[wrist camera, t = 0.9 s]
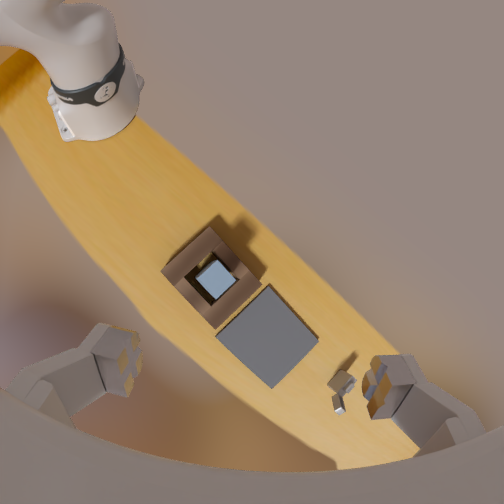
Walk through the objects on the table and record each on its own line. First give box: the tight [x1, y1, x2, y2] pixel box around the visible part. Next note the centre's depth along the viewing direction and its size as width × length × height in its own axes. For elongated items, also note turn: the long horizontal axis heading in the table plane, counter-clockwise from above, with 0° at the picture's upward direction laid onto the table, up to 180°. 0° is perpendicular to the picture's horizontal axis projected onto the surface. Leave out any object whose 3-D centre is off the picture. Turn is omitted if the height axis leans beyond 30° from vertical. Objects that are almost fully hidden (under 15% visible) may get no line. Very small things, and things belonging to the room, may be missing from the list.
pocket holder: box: [161, 226, 262, 330], centre depth 43 cm, size 12×10×3 cm
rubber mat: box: [215, 286, 319, 389], centre depth 46 cm, size 14×12×1 cm
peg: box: [195, 260, 236, 299], centre depth 40 cm, size 4×4×9 cm
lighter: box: [327, 370, 357, 415], centre depth 45 cm, size 7×2×8 cm, turn 134°
